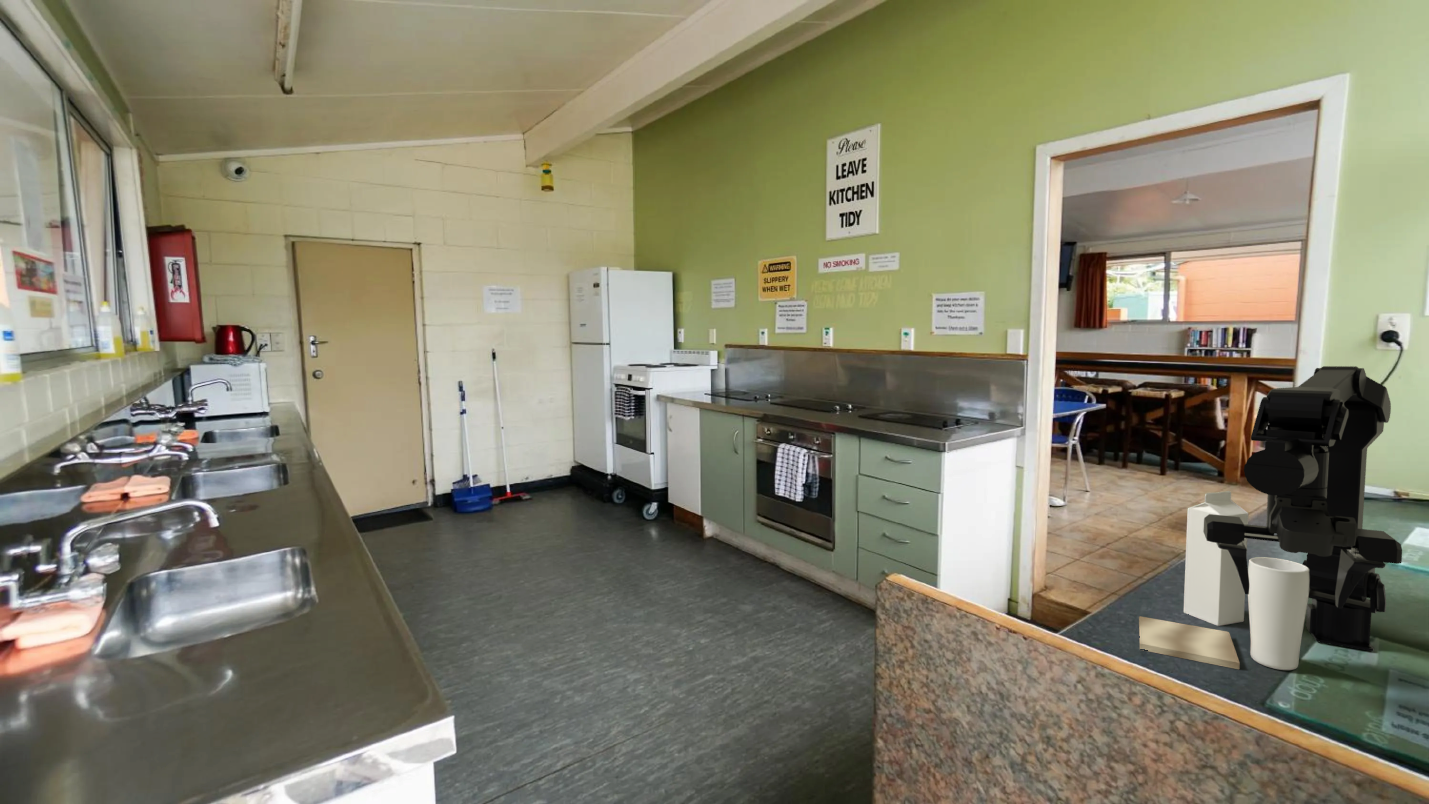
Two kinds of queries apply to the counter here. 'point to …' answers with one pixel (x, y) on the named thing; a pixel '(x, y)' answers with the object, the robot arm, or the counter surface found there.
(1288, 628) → the drinking glass
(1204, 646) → the birch board
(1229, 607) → the milk
